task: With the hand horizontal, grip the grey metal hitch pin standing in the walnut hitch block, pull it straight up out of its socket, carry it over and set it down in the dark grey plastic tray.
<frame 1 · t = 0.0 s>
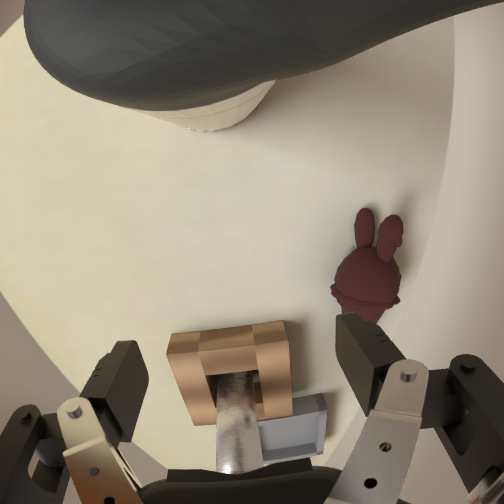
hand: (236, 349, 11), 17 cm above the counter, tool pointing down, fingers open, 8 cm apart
icecream: (354, 273, 30), on the counter
tray: (283, 425, 38), on the counter
hitch pin: (237, 425, 25), in the hitch block
hitch block: (234, 369, 33), on the counter
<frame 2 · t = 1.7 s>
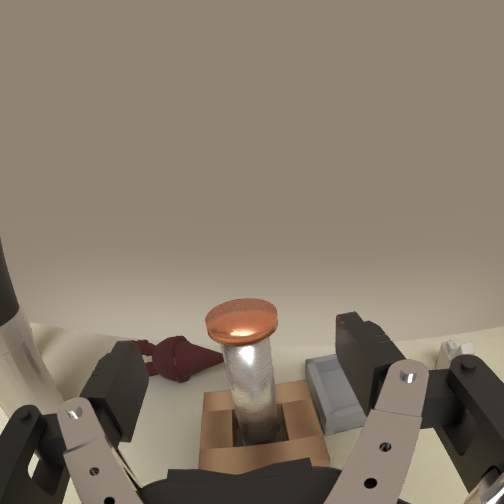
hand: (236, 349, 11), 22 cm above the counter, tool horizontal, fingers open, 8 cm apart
icecream: (184, 376, 41), on the counter
tray: (360, 393, 33), on the counter
hitch pin: (253, 392, 26), in the hitch block
hitch block: (261, 442, 28), on the counter
lighter: (446, 382, 31), on the counter
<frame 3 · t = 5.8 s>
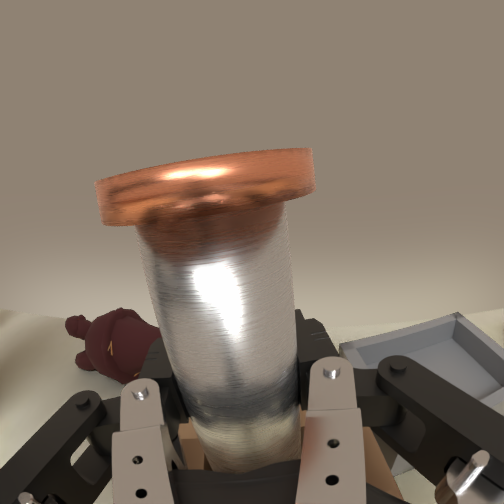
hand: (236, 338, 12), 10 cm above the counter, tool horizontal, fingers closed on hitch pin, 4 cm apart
icecream: (136, 375, 25), on the counter
tray: (431, 394, 18), on the counter
hitch pin: (244, 409, 10), in the hitch block, touching gripper
hitch block: (266, 500, 12), on the counter
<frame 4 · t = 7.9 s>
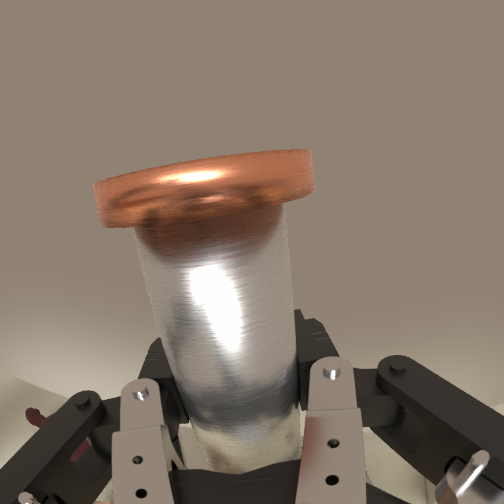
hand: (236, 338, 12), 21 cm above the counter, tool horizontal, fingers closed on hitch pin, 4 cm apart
icecream: (81, 457, 25), on the counter
hitch pin: (244, 410, 10), point 20 cm above the counter, touching gripper
lighter: (435, 503, 15), on the counter
when the fingers open (12 cm above the counter, at t = 10.2 s): hitch pin stays where it is, resting on tray.
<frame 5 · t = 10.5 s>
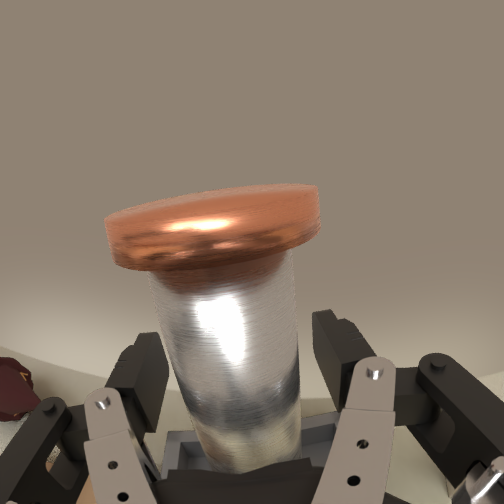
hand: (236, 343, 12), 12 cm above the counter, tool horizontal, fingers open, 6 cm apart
icecream: (21, 413, 21), on the counter
hitch pin: (248, 426, 10), in the tray, point 10 cm above the counter
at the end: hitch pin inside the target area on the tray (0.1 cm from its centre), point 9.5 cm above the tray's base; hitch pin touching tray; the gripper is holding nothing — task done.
